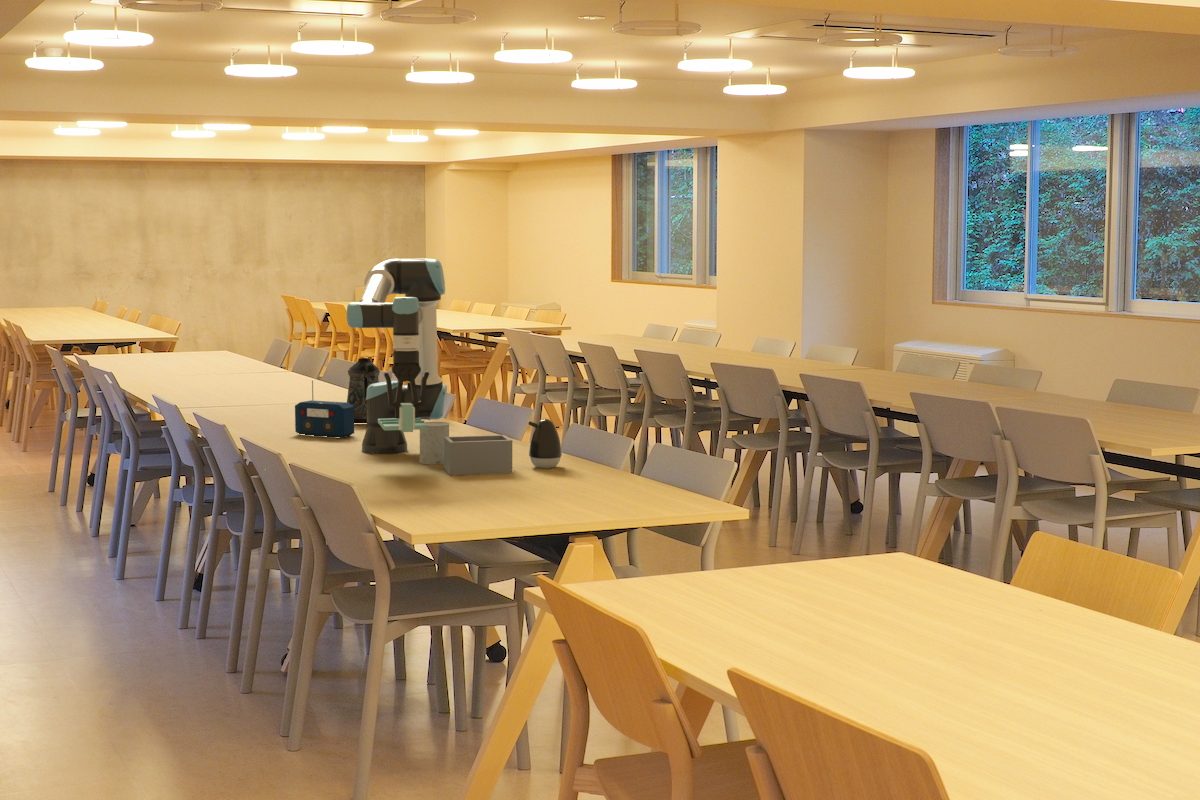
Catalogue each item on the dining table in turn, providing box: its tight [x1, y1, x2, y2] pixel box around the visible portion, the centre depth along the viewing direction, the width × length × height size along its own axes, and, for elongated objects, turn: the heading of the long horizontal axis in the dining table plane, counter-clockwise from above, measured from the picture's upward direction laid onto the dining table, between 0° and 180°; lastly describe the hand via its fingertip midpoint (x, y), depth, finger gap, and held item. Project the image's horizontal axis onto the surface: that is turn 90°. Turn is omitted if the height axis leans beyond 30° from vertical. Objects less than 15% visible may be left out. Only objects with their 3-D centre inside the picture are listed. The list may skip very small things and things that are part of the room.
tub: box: [443, 434, 513, 476], centre depth 393 cm, size 12×19×10 cm, turn 105°
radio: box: [294, 380, 355, 439], centre depth 465 cm, size 21×9×20 cm, turn 67°
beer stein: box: [346, 357, 381, 423], centre depth 501 cm, size 16×19×25 cm
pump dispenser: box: [527, 418, 563, 469], centre depth 400 cm, size 10×10×15 cm
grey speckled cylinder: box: [419, 421, 450, 465], centre depth 409 cm, size 10×10×12 cm
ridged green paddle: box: [378, 403, 427, 433], centre depth 387 cm, size 13×25×8 cm, turn 15°
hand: (406, 429), depth 378 cm, fingers closed on ridged green paddle, 3 cm apart
